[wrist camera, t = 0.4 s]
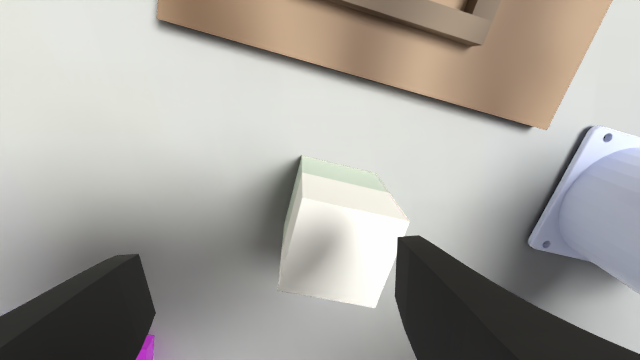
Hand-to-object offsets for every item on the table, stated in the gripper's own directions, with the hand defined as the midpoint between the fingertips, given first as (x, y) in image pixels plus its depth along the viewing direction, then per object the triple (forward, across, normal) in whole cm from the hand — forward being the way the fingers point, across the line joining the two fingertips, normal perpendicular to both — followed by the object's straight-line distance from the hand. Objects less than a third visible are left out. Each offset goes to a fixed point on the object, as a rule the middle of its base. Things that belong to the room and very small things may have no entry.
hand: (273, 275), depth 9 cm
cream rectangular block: (+10, -2, +2) cm, 10 cm away
